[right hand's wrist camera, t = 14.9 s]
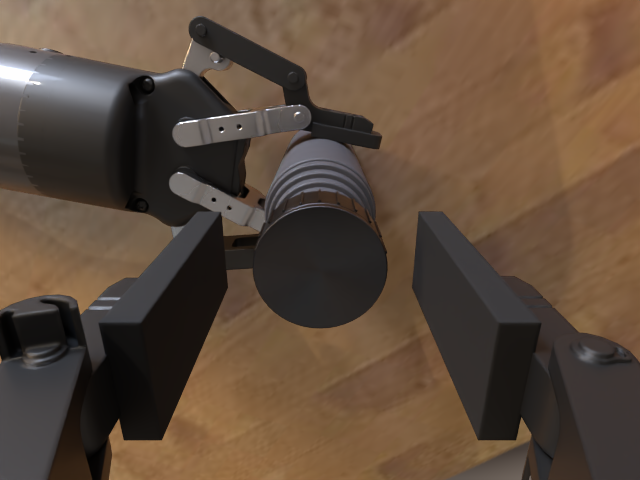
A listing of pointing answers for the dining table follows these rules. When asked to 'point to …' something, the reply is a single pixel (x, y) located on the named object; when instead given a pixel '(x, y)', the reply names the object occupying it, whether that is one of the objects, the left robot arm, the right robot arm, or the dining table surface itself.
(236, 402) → the dining table surface
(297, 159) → the bottle
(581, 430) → the right robot arm
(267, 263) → the cap
